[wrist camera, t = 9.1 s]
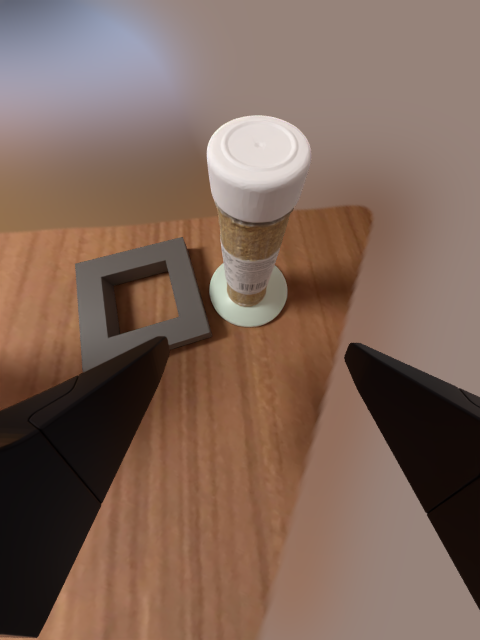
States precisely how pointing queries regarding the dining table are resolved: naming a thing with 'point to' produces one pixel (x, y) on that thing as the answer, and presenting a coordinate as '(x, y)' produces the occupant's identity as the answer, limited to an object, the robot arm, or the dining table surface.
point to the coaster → (253, 314)
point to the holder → (130, 265)
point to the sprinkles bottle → (255, 196)
